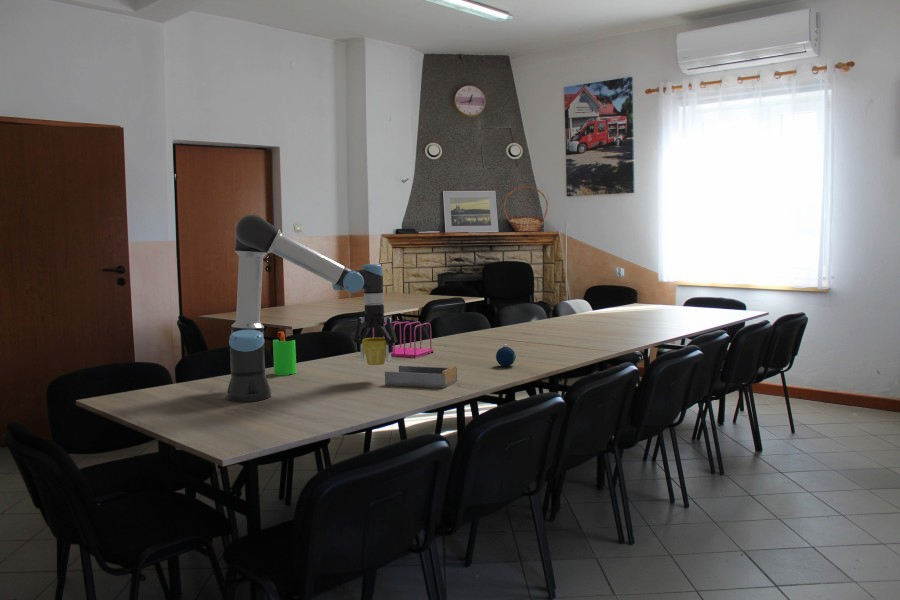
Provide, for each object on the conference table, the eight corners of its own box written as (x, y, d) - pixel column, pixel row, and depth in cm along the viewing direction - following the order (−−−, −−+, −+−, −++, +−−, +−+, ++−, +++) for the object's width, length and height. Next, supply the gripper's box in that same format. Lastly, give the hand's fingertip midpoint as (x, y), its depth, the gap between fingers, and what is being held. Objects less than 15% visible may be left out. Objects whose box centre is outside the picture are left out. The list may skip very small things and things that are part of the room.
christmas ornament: (510, 368, 296) (509, 345, 296) (492, 367, 301) (492, 343, 300) (519, 365, 303) (518, 342, 303) (501, 364, 308) (501, 341, 307)
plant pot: (394, 362, 278) (393, 337, 278) (381, 366, 269) (380, 341, 268) (371, 361, 283) (370, 336, 282) (357, 365, 273) (356, 340, 273)
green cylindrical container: (298, 372, 299) (296, 329, 297) (292, 375, 291) (290, 332, 289) (277, 372, 299) (275, 330, 298) (270, 375, 291) (269, 332, 290)
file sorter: (390, 350, 355) (389, 319, 354) (433, 352, 344) (433, 320, 343) (371, 355, 340) (370, 323, 339) (416, 358, 329) (415, 324, 327)
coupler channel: (444, 388, 259) (444, 372, 259) (385, 384, 268) (384, 369, 267) (457, 380, 273) (456, 365, 272) (400, 378, 281) (399, 363, 280)
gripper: (404, 303, 274) (406, 359, 276) (352, 303, 281) (354, 358, 283) (397, 305, 267) (399, 363, 269) (343, 304, 274) (345, 361, 276)
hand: (376, 360), depth 276 cm, fingers closed on plant pot, 10 cm apart
